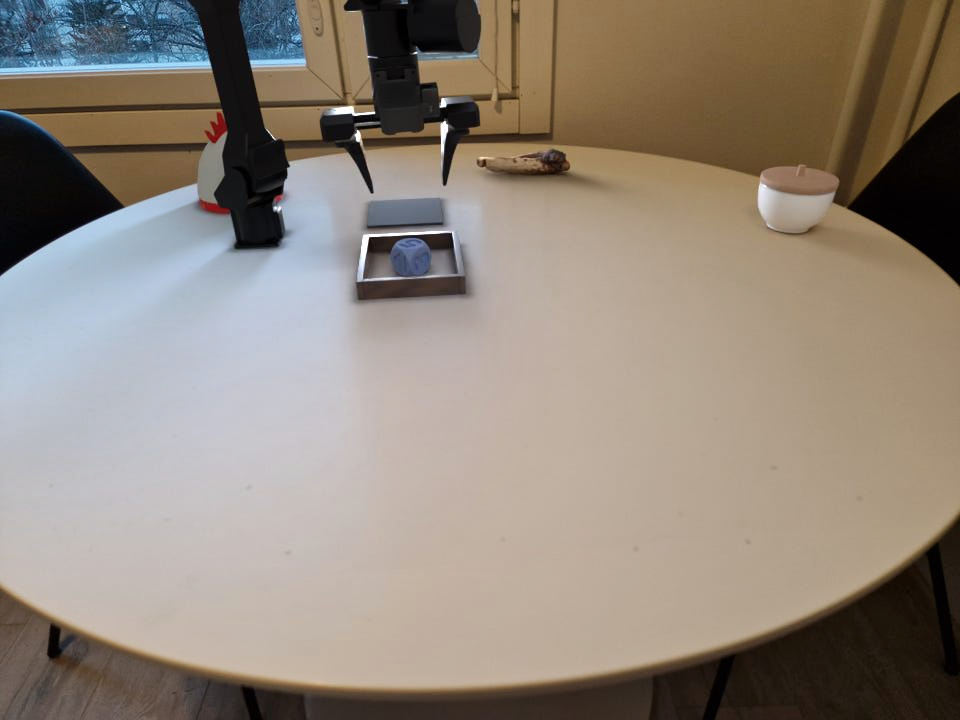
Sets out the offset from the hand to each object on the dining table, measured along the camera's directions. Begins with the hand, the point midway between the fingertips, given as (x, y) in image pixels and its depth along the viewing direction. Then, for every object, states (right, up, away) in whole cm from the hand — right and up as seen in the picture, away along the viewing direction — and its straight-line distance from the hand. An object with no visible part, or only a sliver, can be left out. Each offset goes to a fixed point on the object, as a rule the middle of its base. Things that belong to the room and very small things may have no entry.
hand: (408, 189), depth 82 cm
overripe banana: (+18, +15, +45) cm, 50 cm away
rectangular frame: (0, -10, +6) cm, 11 cm away
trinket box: (+57, -1, +18) cm, 59 cm away
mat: (-3, +3, +25) cm, 26 cm away
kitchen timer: (-33, +7, +33) cm, 47 cm away
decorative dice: (0, -10, +6) cm, 12 cm away
